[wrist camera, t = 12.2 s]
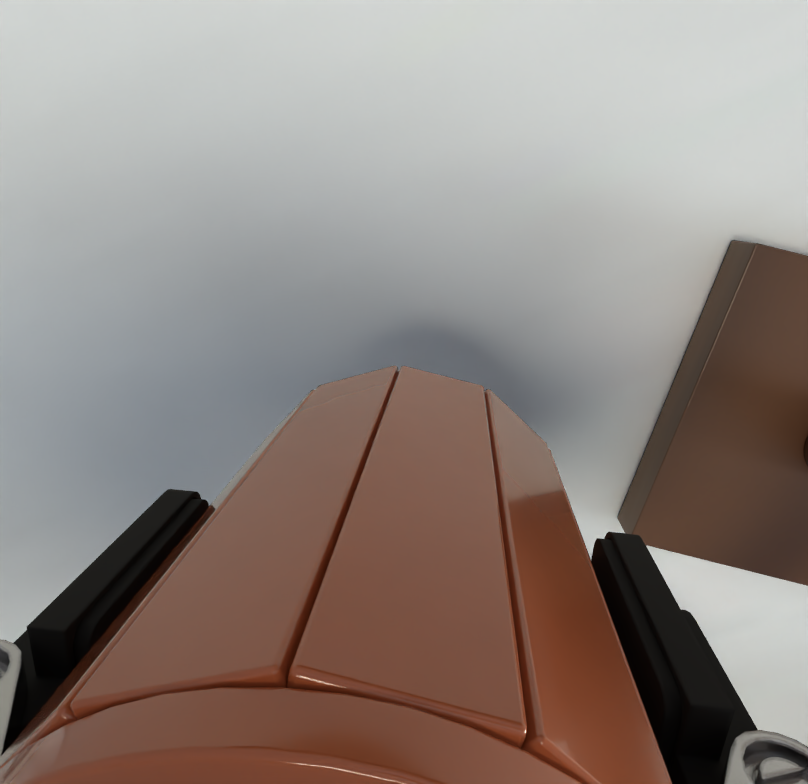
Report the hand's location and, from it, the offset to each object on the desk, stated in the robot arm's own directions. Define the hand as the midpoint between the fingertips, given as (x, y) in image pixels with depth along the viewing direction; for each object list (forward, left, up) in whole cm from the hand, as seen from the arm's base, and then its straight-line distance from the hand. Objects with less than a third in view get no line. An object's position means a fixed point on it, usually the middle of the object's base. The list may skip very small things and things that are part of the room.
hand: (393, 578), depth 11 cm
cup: (0, 0, -2) cm, 2 cm away
